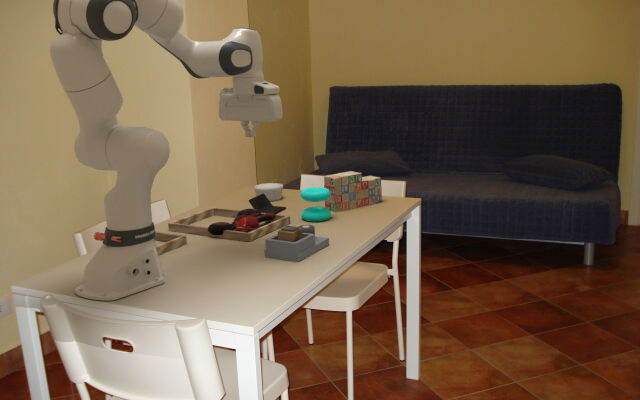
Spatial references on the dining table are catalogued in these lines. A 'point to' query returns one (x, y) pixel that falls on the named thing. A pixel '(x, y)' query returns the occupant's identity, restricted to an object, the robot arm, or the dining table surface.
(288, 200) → the dining table surface
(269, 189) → the ramekin
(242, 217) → the toy motorcycle
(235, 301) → the dining table surface
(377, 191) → the stack of blocks
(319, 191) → the donuts
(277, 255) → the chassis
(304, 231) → the wheel
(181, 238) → the wooden frame
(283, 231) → the brown block
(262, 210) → the handheld gaming console
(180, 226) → the wooden open frame
